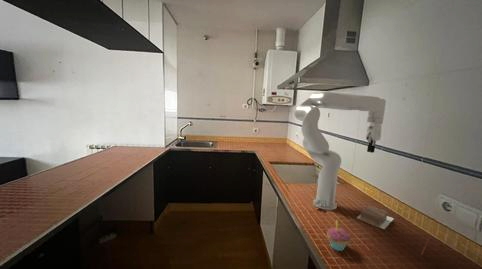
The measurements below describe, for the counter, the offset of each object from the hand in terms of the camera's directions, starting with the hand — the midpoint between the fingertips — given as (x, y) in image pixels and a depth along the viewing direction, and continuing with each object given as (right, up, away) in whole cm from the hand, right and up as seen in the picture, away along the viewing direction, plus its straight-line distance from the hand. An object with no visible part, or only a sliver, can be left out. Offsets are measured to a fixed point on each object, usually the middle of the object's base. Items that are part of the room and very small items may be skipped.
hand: (370, 152), depth 118 cm
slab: (-4, -30, -13) cm, 33 cm away
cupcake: (-37, -35, -37) cm, 63 cm away
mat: (-7, -33, -14) cm, 37 cm away
